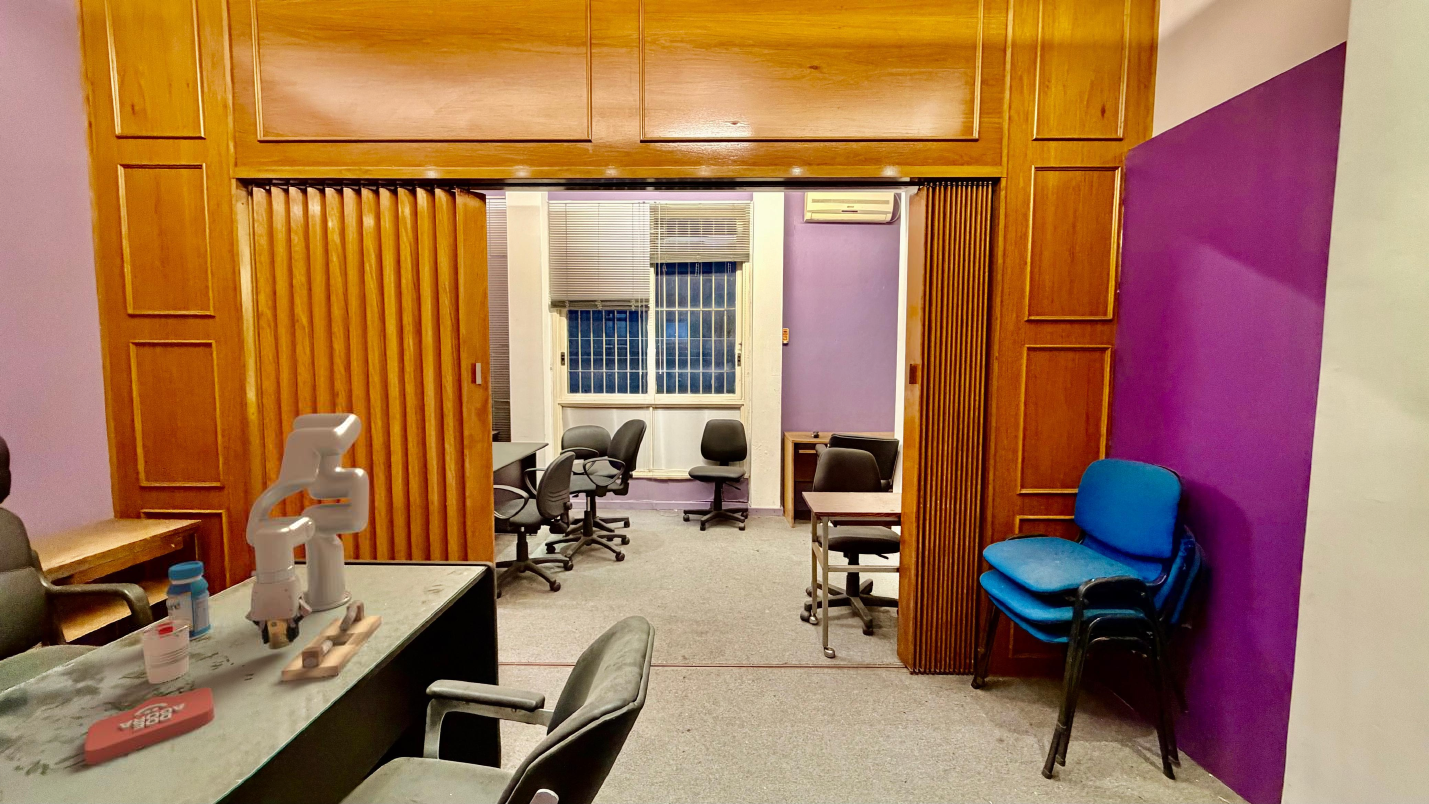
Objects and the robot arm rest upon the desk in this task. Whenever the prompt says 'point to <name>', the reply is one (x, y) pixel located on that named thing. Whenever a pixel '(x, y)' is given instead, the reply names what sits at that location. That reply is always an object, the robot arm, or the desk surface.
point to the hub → (278, 633)
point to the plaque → (148, 724)
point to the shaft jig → (320, 652)
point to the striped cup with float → (166, 650)
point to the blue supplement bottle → (189, 597)
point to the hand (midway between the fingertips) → (281, 639)
